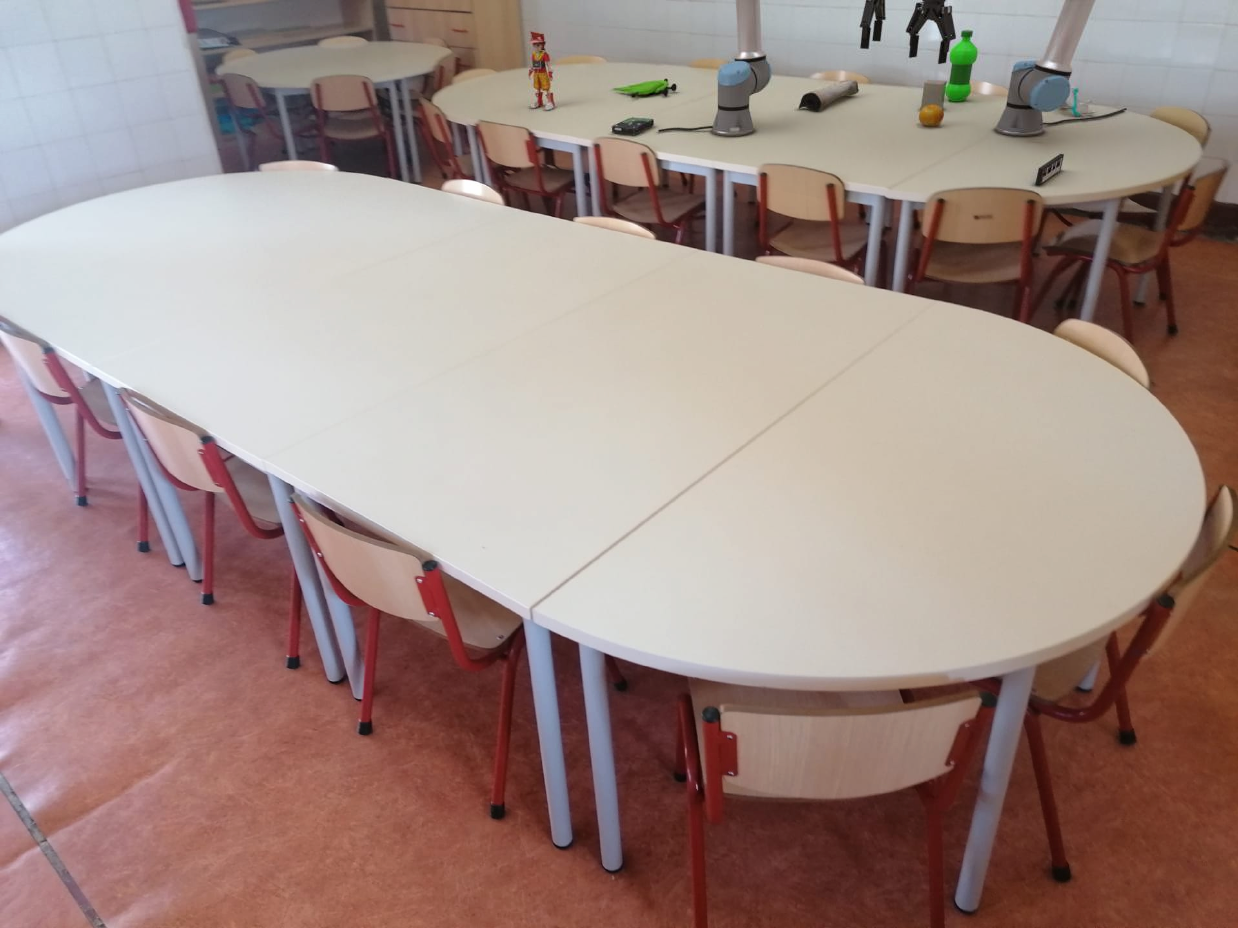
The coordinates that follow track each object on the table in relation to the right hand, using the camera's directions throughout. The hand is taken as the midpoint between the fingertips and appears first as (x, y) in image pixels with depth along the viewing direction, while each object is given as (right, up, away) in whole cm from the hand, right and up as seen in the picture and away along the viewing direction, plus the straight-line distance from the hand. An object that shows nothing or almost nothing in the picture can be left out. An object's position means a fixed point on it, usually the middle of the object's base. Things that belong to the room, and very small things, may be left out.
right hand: (927, 60), depth 291 cm
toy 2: (-91, +33, +106) cm, 143 cm away
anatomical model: (+68, 0, +42) cm, 80 cm away
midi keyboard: (+31, -44, -17) cm, 56 cm away
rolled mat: (-15, +16, +73) cm, 76 cm away
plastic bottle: (+34, +14, +66) cm, 75 cm away
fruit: (+14, -7, +38) cm, 41 cm away
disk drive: (-95, -3, +54) cm, 109 cm away
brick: (+21, +6, +56) cm, 60 cm away
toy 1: (-133, +21, +91) cm, 163 cm away
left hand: (-14, +12, +15) cm, 24 cm away
